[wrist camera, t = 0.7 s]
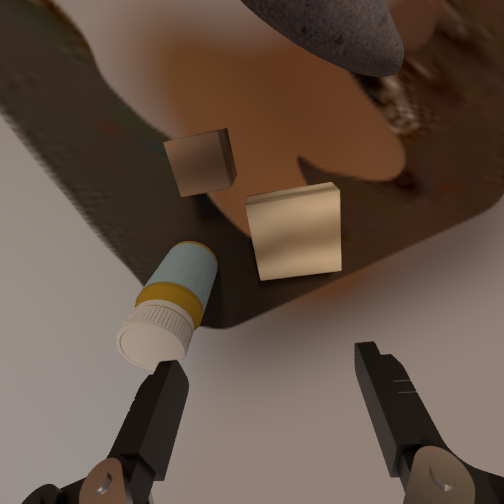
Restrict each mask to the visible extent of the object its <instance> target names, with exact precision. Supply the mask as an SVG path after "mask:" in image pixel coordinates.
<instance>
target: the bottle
mask: <svg viewBox="0 0 504 504" xmlns="http://www.w3.org/2000/svg"><path fill="white" fill-rule="evenodd" d="M217 269H218V261H217V259H216V256H215V254H214V253H213V252H212V251H211V250H210V249H209V248H208V247H206V246H205V245H203V244H201V243H198V242H194V241H185V242H181V243H178V244H177V245H175V246H174V247H173V248H172V249H171V250H170V252H169V253H168V254H167V256H166V257H165V259H164V260H163V261H162V263H161V264H160V266H159V267H158V268H157V270H156V271H155V273H154V274H153V275H152V277H151V278H150V280H149V281H148V282H147V284H146V285H145V287H144V288H143V289H142V291H141V293H140V294H139V296H138V297H137V299H136V304H135V309H134V310H133V312H132V313H131V315H130V316H129V317H128V319H127V320H126V322H125V323H124V324H123V326H122V328H121V329H120V330H119V332H118V335H117V338H116V345H117V348H118V350H119V352H120V353H121V354H122V356H123V357H124V358H125V359H127V360H128V361H129V362H131V363H132V364H134V365H136V366H138V367H141V368H143V369H147V370H152V371H155V369H156V367H157V365H158V363H159V362H160V361H168V360H178V362H179V363H180V364H181V363H182V361H183V360H184V358H185V355H186V353H187V350H188V347H189V344H190V341H191V337H192V335H193V332H194V331H195V330H196V329H197V328H198V326H199V325H200V323H201V320H202V317H203V314H204V311H205V308H206V305H207V302H208V299H209V295H210V292H211V289H212V286H213V283H214V280H215V276H216V273H217Z"/></svg>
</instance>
